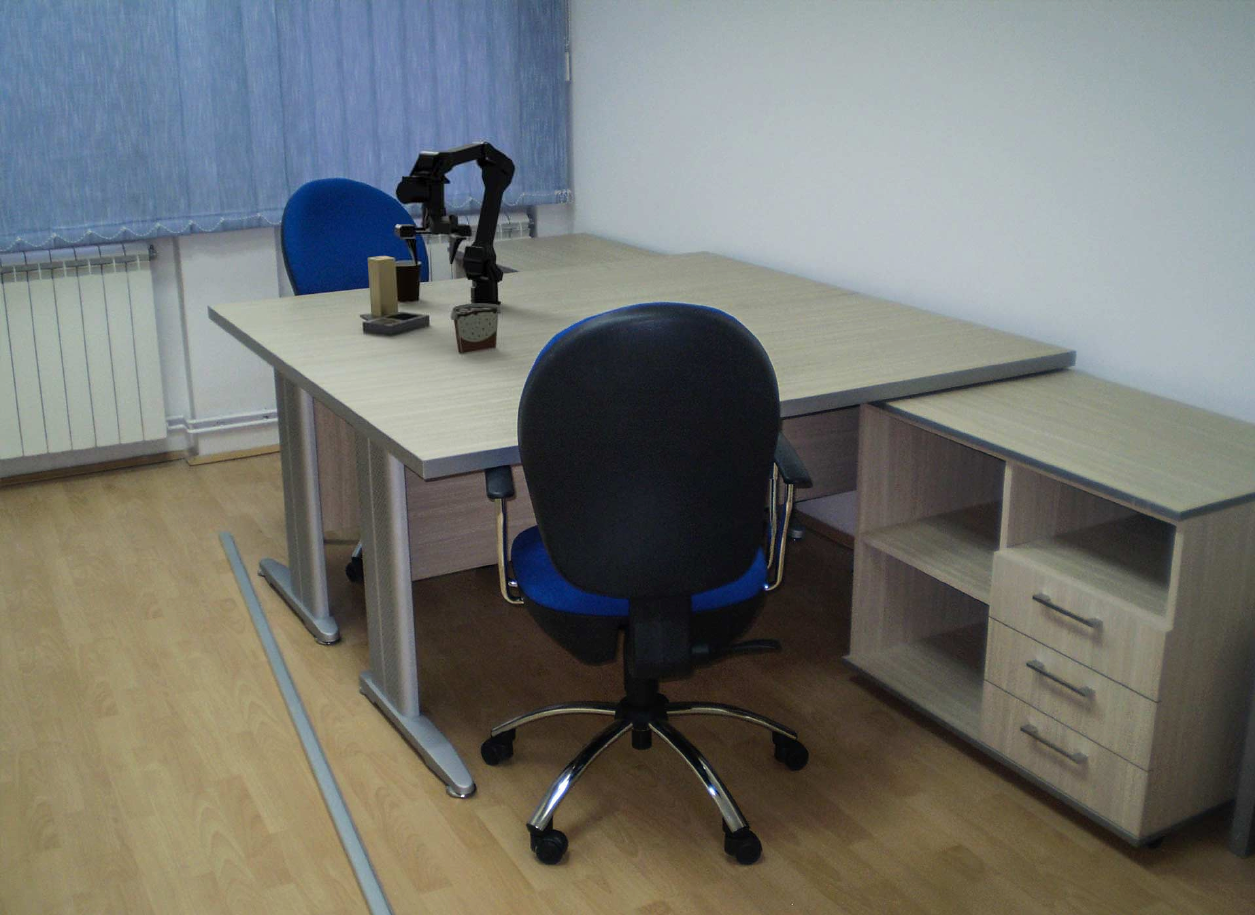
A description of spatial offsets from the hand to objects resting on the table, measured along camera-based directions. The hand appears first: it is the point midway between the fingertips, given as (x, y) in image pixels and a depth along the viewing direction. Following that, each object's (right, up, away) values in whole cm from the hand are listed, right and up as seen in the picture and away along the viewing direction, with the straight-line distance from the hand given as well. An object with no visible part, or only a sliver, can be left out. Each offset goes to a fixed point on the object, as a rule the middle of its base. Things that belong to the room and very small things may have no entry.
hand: (433, 264), depth 324 cm
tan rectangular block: (-13, -13, +1) cm, 18 cm away
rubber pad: (-13, -13, +1) cm, 19 cm away
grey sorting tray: (-8, -17, -10) cm, 21 cm away
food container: (+13, -24, -30) cm, 41 cm away
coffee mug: (-11, -6, +25) cm, 28 cm away
